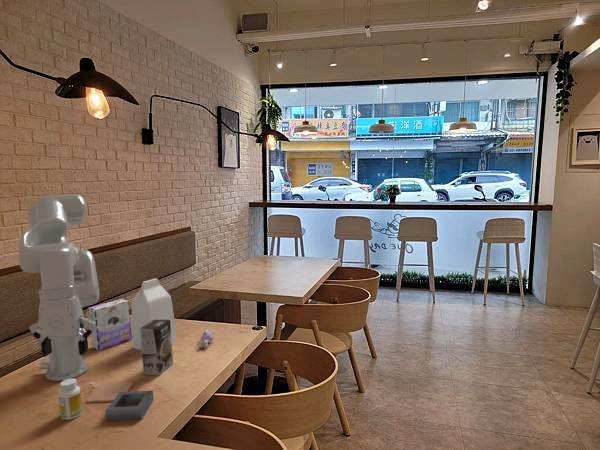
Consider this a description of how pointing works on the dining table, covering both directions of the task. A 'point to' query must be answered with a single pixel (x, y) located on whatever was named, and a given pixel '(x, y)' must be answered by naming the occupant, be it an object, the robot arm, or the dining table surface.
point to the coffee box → (156, 347)
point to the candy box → (110, 324)
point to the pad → (108, 392)
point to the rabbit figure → (206, 339)
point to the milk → (151, 309)
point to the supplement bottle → (70, 399)
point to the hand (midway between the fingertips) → (65, 353)
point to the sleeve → (129, 413)
